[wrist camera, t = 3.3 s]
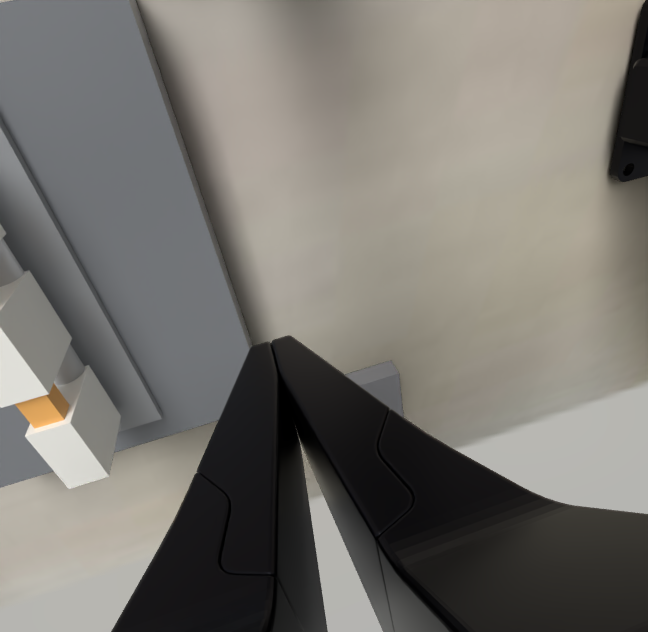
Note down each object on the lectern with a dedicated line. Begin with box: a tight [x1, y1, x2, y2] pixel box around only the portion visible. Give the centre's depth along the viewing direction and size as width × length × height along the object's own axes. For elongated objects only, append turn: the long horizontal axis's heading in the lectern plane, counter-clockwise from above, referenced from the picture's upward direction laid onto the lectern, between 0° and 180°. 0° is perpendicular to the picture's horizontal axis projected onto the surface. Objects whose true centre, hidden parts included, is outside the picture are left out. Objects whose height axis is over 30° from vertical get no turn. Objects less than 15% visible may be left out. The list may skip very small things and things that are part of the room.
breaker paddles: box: [0, 224, 121, 489], centre depth 12 cm, size 1×10×3 cm, turn 11°
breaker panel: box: [0, 0, 253, 488], centre depth 14 cm, size 11×14×2 cm
